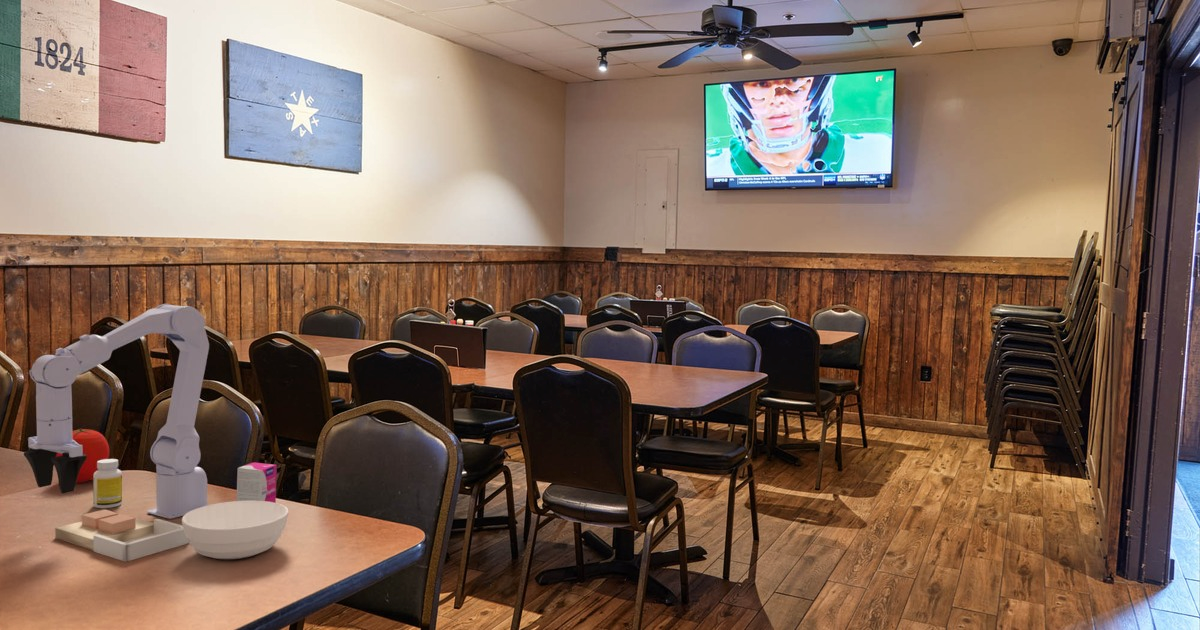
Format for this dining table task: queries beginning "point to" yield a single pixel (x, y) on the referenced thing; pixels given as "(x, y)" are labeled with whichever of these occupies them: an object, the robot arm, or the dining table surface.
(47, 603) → the dining table surface
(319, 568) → the dining table surface
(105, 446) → the tomato
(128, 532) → the plate
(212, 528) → the bowl
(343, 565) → the dining table surface
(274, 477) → the supplement box
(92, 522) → the tile
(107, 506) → the supplement bottle
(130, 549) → the tray
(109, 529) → the tile
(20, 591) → the dining table surface
